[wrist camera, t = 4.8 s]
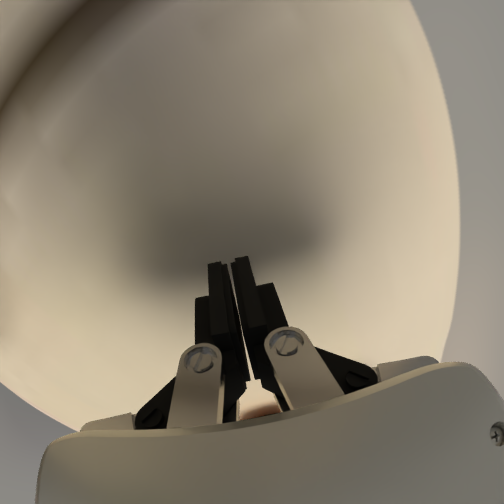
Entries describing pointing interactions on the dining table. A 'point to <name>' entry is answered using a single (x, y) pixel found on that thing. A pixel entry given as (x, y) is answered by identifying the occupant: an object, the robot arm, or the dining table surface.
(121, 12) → the dining table surface
